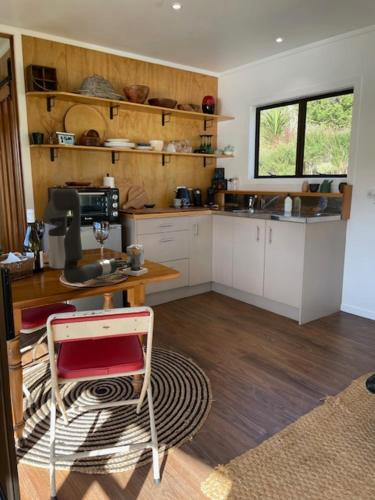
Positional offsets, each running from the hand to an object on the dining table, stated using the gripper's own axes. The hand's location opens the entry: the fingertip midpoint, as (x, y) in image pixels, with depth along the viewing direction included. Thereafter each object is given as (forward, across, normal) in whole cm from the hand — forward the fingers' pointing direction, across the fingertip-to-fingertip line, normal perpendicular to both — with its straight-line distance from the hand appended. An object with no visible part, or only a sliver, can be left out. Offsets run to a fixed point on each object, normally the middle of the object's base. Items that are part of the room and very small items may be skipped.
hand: (127, 260), depth 184 cm
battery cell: (+6, 0, +8) cm, 9 cm away
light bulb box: (+20, +11, +8) cm, 24 cm away
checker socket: (+6, 0, +8) cm, 9 cm away
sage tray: (-6, +13, +8) cm, 16 cm away
